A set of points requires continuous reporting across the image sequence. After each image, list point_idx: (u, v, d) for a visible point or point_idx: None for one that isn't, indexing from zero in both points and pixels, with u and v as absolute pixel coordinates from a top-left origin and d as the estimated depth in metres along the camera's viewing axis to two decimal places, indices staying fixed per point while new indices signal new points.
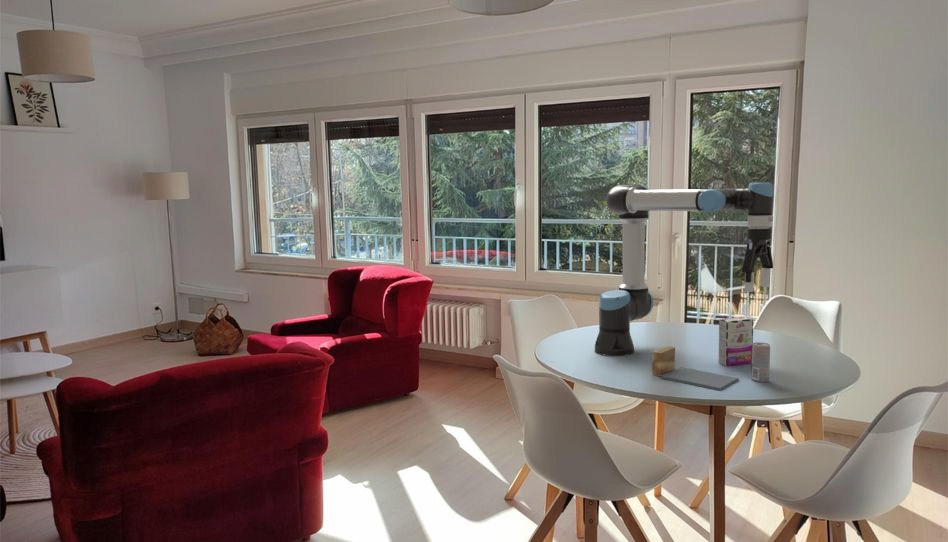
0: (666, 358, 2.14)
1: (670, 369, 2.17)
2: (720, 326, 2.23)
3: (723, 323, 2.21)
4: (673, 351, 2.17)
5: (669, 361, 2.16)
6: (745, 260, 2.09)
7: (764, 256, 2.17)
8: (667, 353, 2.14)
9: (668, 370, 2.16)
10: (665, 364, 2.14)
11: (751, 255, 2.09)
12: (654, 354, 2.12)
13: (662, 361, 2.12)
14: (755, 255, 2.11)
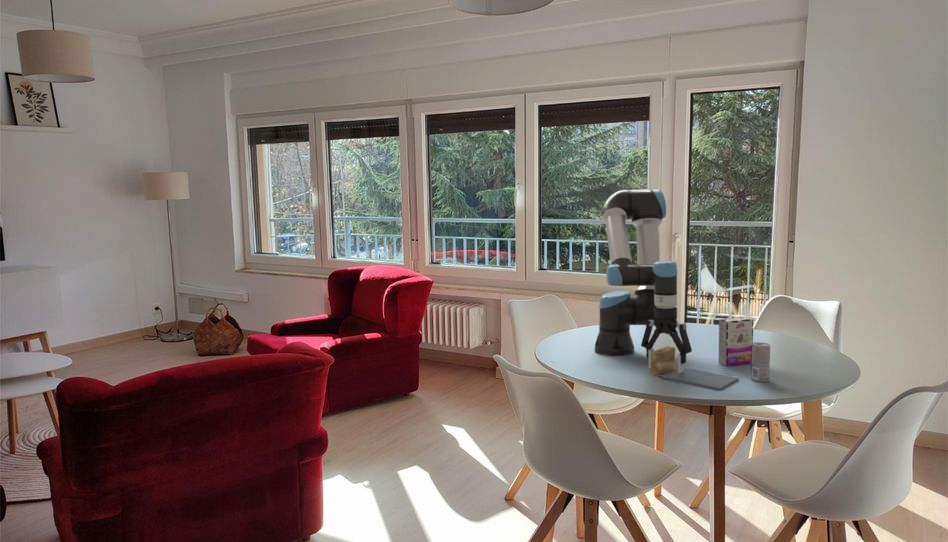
0: (666, 358, 2.14)
1: (670, 369, 2.17)
2: (720, 326, 2.23)
3: (723, 323, 2.21)
4: (673, 351, 2.17)
5: (669, 361, 2.16)
6: None
7: None
8: (667, 353, 2.14)
9: (668, 370, 2.16)
10: (665, 364, 2.14)
11: None
12: (654, 354, 2.12)
13: (662, 361, 2.12)
14: None
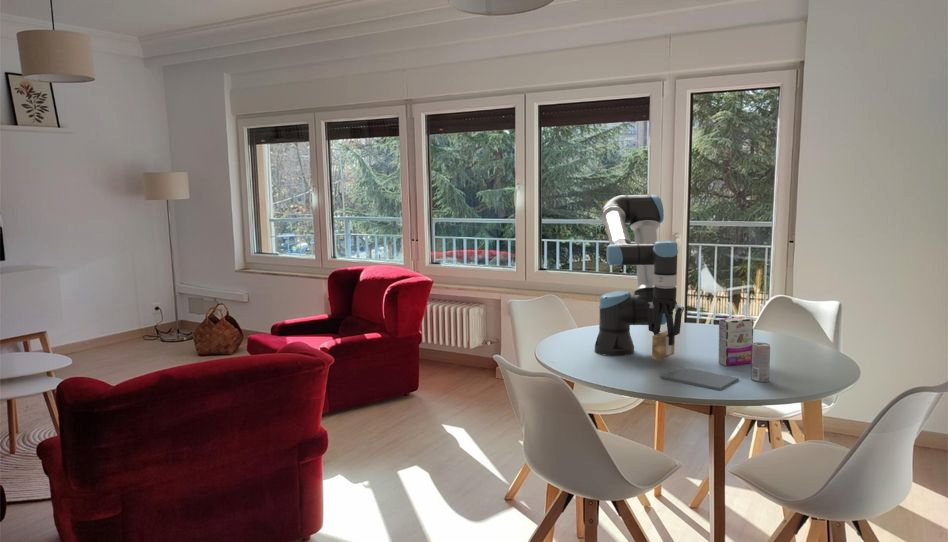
0: None
1: None
2: (720, 326, 2.23)
3: (723, 323, 2.21)
4: None
5: None
6: None
7: None
8: None
9: None
10: (665, 348, 2.14)
11: None
12: (654, 338, 2.12)
13: (661, 345, 2.12)
14: None
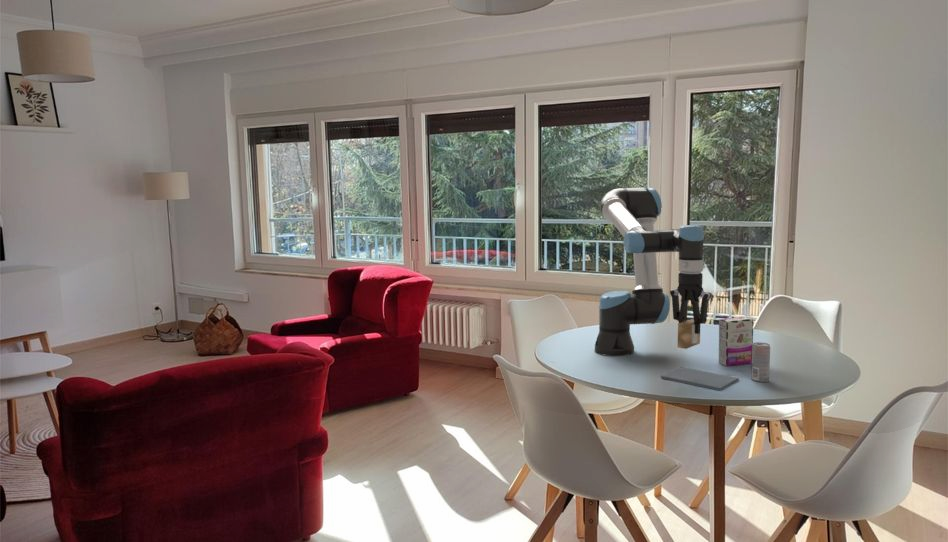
0: None
1: None
2: (720, 326, 2.23)
3: (723, 323, 2.21)
4: None
5: None
6: None
7: None
8: None
9: (694, 343, 2.08)
10: (691, 337, 2.06)
11: None
12: (679, 326, 2.05)
13: (687, 333, 2.04)
14: None
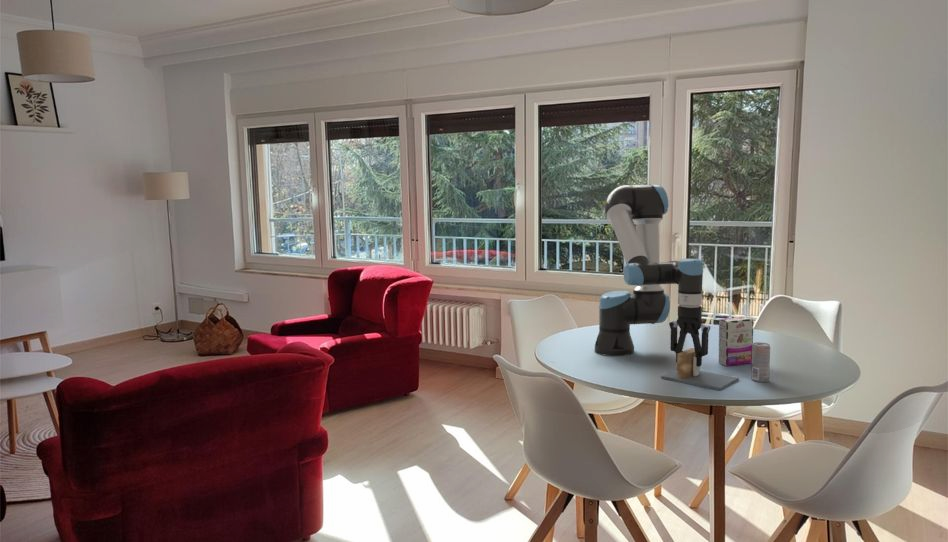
0: (691, 360, 2.07)
1: None
2: (720, 326, 2.23)
3: (723, 323, 2.21)
4: None
5: None
6: None
7: None
8: (692, 355, 2.07)
9: None
10: (690, 366, 2.07)
11: None
12: (679, 356, 2.06)
13: (687, 363, 2.05)
14: None
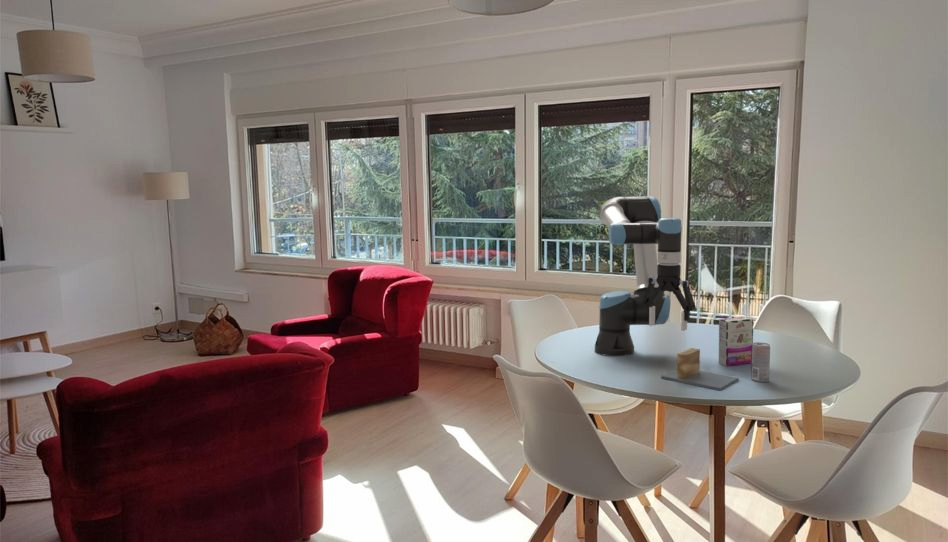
0: (691, 360, 2.07)
1: (695, 372, 2.10)
2: (720, 326, 2.23)
3: (723, 323, 2.21)
4: (697, 353, 2.10)
5: (694, 363, 2.09)
6: None
7: None
8: (692, 355, 2.07)
9: (693, 373, 2.09)
10: (690, 366, 2.07)
11: None
12: (679, 356, 2.06)
13: (687, 363, 2.05)
14: None
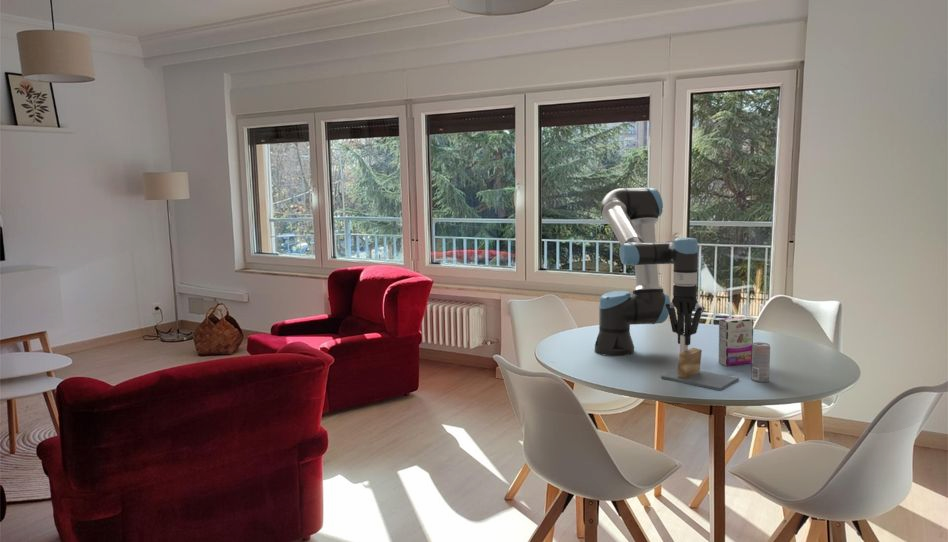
0: (692, 361, 2.07)
1: (695, 372, 2.10)
2: (720, 326, 2.23)
3: (723, 323, 2.21)
4: (699, 353, 2.10)
5: (695, 364, 2.09)
6: None
7: None
8: (694, 355, 2.07)
9: (693, 373, 2.09)
10: (691, 367, 2.07)
11: None
12: (681, 356, 2.05)
13: (688, 363, 2.05)
14: None
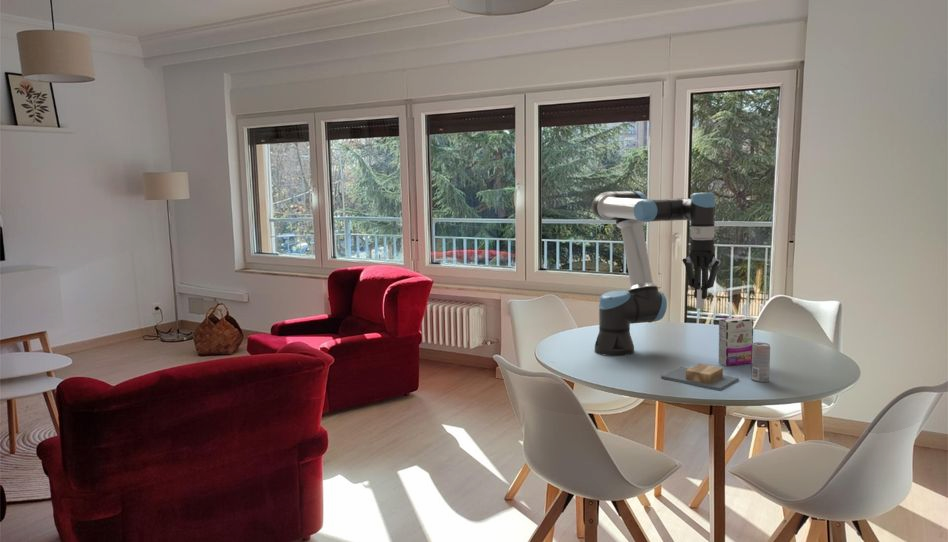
0: None
1: None
2: (720, 326, 2.23)
3: (723, 323, 2.21)
4: None
5: None
6: None
7: None
8: None
9: None
10: None
11: None
12: (707, 376, 2.00)
13: None
14: None
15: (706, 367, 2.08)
